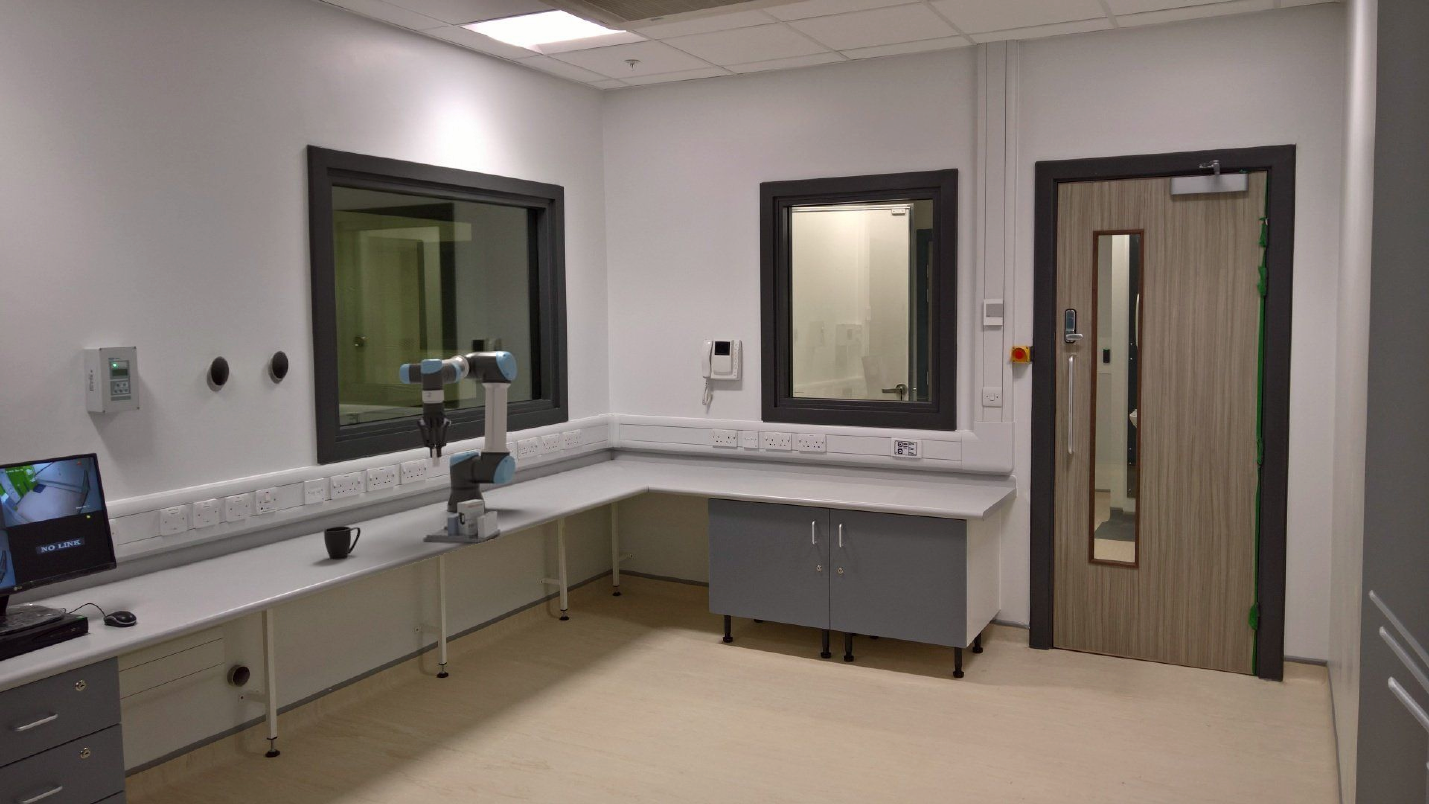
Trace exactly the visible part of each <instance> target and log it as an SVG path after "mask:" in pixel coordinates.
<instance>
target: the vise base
mask: <svg viewBox="0 0 1429 804" xmlns="http://www.w3.org/2000/svg"><path fill="white" fill-rule="evenodd" d="M477 521H478V534H475V535H472V536H471V535H448V526H447V525H445V526H443V528H442V529H440V530H437V531H435V532H433V533H431V534H426V535H425V537H423V539H422V540H423V542H425V543H426V542H433V543H438V542H439V543H441V542H442V543H484V542H486V541H488V540H490V539H492V538H493V537H495V536H497V535H498V534H500V533H501V529H500V528H499V526H498V525H499V523H498V511H491V510H490V511H489V512H486V513H484V515H482V516H480V517H478V518H477Z"/></svg>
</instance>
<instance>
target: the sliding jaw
mask: <svg viewBox="0 0 1429 804" xmlns="http://www.w3.org/2000/svg"><path fill="white" fill-rule="evenodd" d="M446 522H447V523H446V524H447V525H446V526H448V535H459V531H458V512H455V513H454V514H451V515H450V516H448V517H447V518H446Z"/></svg>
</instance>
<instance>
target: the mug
mask: <svg viewBox="0 0 1429 804" xmlns="http://www.w3.org/2000/svg"><path fill="white" fill-rule="evenodd" d="M353 530H356V531H357V533H356V536H355V539H354V541H353V543H352V545H351V542H352V531H353ZM360 535H361V528H360V527H359V526H358V527H357V526H355V527H349V526H333V527H328V528H325V529H324V530H323V538H324V540H323V541H324V545H325V548H326V552H327V555H328V557H329V559H331V560H342V559H346V558H348V556H349V555H350V554H351V553H352V552H353V550H354V549H355V547H356V545H357V542H358V541H359V538H360Z"/></svg>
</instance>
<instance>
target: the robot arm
mask: <svg viewBox="0 0 1429 804" xmlns="http://www.w3.org/2000/svg"><path fill="white" fill-rule="evenodd" d="M517 375H518V366H517V362H516V359H515V357H514V355H513V354H511V353H510V352H509V351H501V350H500V351H499V350H496V351H494V350H493V351H474V352H469V353H467V352H466V353H463V354H458V355H454V356H452V357H451V358H449V359H440V358H434V359H433V358H432V359H422V360H421V362H420V363H405V364H402V365H401V366H400V368H399V370H398V378H399V380H400V382H402V383H403V384H405V385H406V384H407V385H421V391H422V392H421V395H422V397H421V399H422V402H423V403H422V414H423V415H422V416H421V417H422V418H421V419H420V420H418V421H416V425H417V426H418V429H419V431H420V435H421V438H422V442H423V446H424V447H425V448H428V449H429V457H430V458H432V459H431V460H432V468H437V467H440V466H441V461H440V459H441V458H442V457H443V456H442V448H444V447H446V446H447V443H448V438H449V434H450V429H451V428H450V427H451V425H452V424H453V420H449V419H447V416H446V414H445V402H443V401H445V396H444V395H445V393H444V391H445V390H444V385H448V384H451V385H452V384H453V383H456V382H458V381H459V380H472V381H473V380H475V381H481V385H482V386H483V387H484V388H485V404H484V405H485V406H484V407H485V408H484V409H485V411H484V413H485V416H484V447H483V448H482V449H481V450H480V453H479V452H478V451H468V452H463V453H457V454H453V455H451V456H450V458H449V466H448V467H449V478H450V481H449V482H450V494H449V497H448V500H447V505H446V509H447V510H446V511H448V512H453V513H458V509H457V503H461V502H465V501H470V500H474V499H475V500H483V501H484V509H485V508H486V501H485V499H484V496H483V494H482V490H481V485H496V486H497V485H506V484H508V483H510V482H511V481H512V479H513V478H514V475H515V471H516V461H515V457H514V456H513V455H511V451H510V450H509V448H507V432H508V431H507V426H508V425H507V419H508V417H507V416H508V389H509V387H511V385H512V381H514V380H515V378H516V377H517ZM402 383H401V384H402ZM442 425H444V426H443V428H442ZM426 426H427V427H426ZM442 429H443V430H442Z"/></svg>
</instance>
